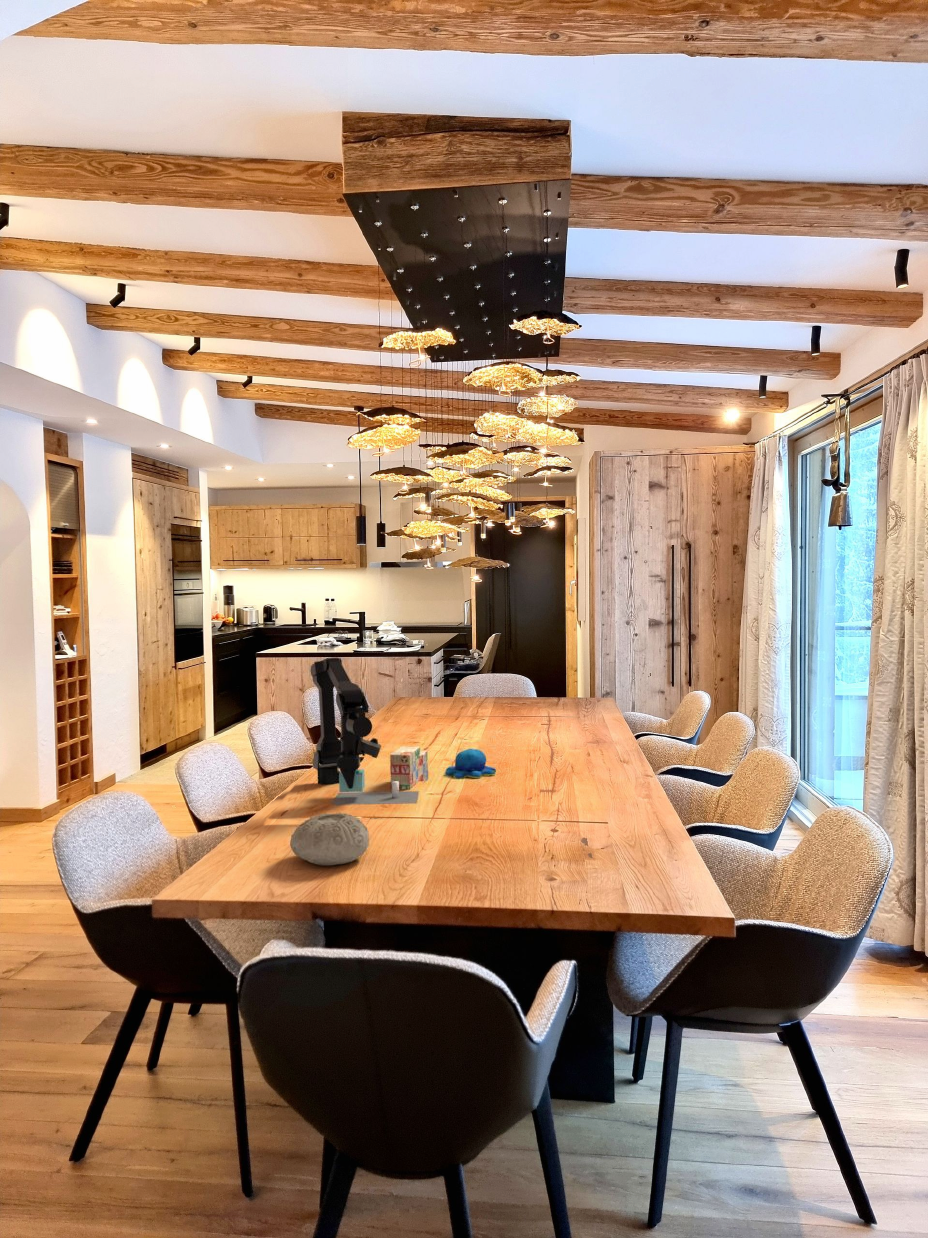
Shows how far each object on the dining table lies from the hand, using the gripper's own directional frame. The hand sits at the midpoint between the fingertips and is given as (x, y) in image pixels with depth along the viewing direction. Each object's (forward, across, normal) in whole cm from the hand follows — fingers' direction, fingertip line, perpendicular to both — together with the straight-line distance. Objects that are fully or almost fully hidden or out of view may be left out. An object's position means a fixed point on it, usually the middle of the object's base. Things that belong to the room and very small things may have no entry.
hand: (352, 785), depth 247 cm
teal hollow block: (+1, 0, 0) cm, 1 cm away
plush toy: (+6, +37, -35) cm, 51 cm away
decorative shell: (+5, -51, -1) cm, 51 cm away
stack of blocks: (+6, +21, -16) cm, 27 cm away
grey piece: (+5, 0, -7) cm, 9 cm away
